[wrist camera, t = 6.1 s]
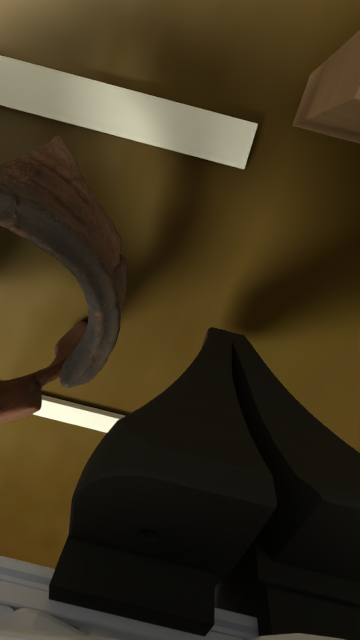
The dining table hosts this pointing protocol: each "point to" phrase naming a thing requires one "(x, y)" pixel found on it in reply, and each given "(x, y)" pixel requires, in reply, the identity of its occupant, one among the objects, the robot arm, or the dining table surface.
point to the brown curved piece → (75, 254)
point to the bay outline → (128, 122)
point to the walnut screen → (334, 95)
